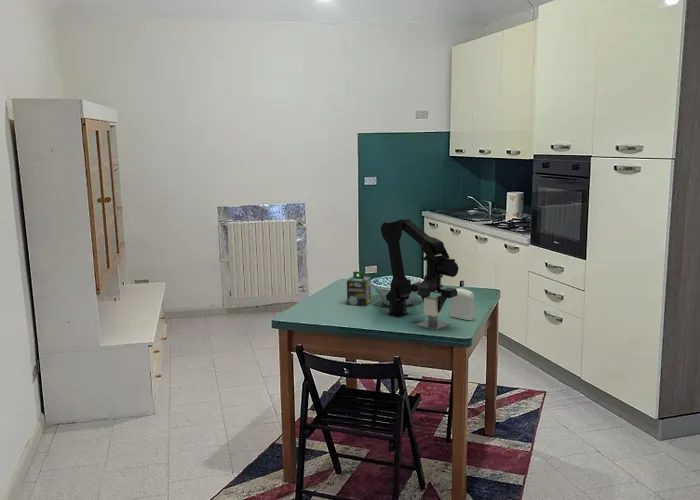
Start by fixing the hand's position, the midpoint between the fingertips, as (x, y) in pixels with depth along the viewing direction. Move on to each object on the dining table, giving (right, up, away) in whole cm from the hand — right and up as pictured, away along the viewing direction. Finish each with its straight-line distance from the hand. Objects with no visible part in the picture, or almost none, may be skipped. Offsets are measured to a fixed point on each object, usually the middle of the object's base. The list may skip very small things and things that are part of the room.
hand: (432, 311), depth 253 cm
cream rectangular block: (0, -1, 0) cm, 1 cm away
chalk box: (-29, 0, +35) cm, 45 cm away
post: (0, -6, +1) cm, 6 cm away
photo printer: (+13, -4, +11) cm, 18 cm away
